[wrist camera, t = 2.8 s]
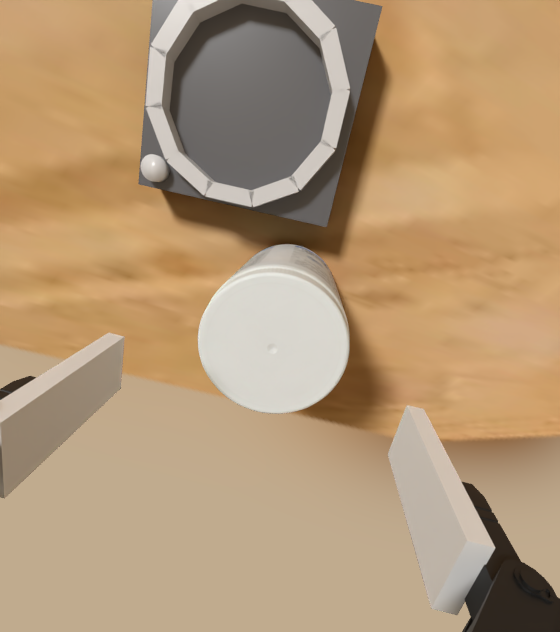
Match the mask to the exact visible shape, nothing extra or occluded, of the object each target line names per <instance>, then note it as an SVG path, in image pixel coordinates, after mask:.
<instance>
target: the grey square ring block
mask: <svg viewBox="0 0 560 632" xmlns="http://www.w3.org/2000/svg"><path fill="white" fill-rule="evenodd" d="M381 10H382V6H378V5H374V4H369V3H364V2H360V1H355V0H153V3H152V16H151V29H150V42H149V55H148V68H147V81H146V94H145V107H144V120H143V133H142V146H141V159H140V172H139V184H140V185H144V186H149V187H153V188H157V189H162V190H166V191H171V192H175V193H179V194H184V195H188V196H192V197H197V198H201V199H205V200H210V201H214V202H219V203H223V204H227V205H232V206H236V207H240V208H245V209H249V210H253V211H258V212H262V213H267V214H271V215H275V216H280V217H284V218H288V219H293V220H297V221H301V222H306V223H310V224H315V225H319V226H323V227H327V224H328V220H329V216H330V212H331V208H332V204H333V200H334V196H335V192H336V188H337V184H338V180H339V176H340V172H341V168H342V164H343V160H344V156H345V152H346V149H347V145H348V141H349V137H350V133H351V129H352V125H353V121H354V117H355V113H356V109H357V105H358V101H359V97H360V93H361V89H362V85H363V81H364V77H365V73H366V69H367V65H368V61H369V57H370V53H371V49H372V45H373V41H374V37H375V33H376V29H377V25H378V21H379V17H380V13H381Z"/></svg>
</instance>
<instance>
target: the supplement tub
mask: <svg viewBox="0 0 560 632" xmlns="http://www.w3.org/2000/svg"><path fill="white" fill-rule="evenodd" d="M349 334H350V333H349V326H348V321H347V317H346V314H345V311H344V308H343V305H342V302H341V299H340V296H339V293H338V290H337V287H336V284H335V281H334V278H333V276H332V273H331V271H330V269H329V268H328V266H327V264H326V263H325V262H324V261H323V259H322V258H320V257H319V256H318V255H317V254H316V253H314V252H313V251H311V250H309V249H307V248H305V247H302V246H298V245H293V244H280V245H275V246H271V247H268V248H266V249H264V250H262V251H260V252H259V253H257V254H256V255H255V256H253V257H252V258H251V259H250V260H249V261H248V262H247V263H246V264H245V265H244V266H242V267H241V268H240V269H239V270H238V271H237V272H236V273H235V274H234V275H233V276H232V277H231V278H229V279H228V280H227V281H226V282H225V283H224V284H223V285H222V286H221V287H220V288H219V290H218V291H217V292H216V293H215V295H214V296H213V297H212V299H211V301H210V302H209V304H208V306H207V308H206V310H205V312H204V314H203V316H202V319H201V322H200V326H199V332H198V349H199V355H200V359H201V362H202V365H203V367H204V369H205V371H206V373H207V375H208V377H209V378H210V380H211V381H212V382H213V384H214V385H215V386H216V387H217V388H218V389H219V391H220V392H222V393H223V394H224V395H225V396H226V397H228V398H229V399H230V400H232V401H234V402H235V403H237V404H239V405H241V406H243V407H245V408H248V409H251V410H254V411H258V412H262V413H270V414H271V413H272V414H283V413H290V412H296V411H299V410H302V409H305V408H307V407H310V406H312V405H314V404H315V403H317V402H319V401H320V400H322V399H323V398H324V397H325V396H327V395H328V394H329V393H330V392H331V391H332V390H333V389H334V387H335V386H336V385H337V383H338V382H339V380H340V379H341V377H342V375H343V373H344V371H345V368H346V365H347V362H348V357H349V343H350V335H349Z"/></svg>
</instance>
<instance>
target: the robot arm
mask: <svg viewBox="0 0 560 632" xmlns="http://www.w3.org/2000/svg"><path fill="white" fill-rule="evenodd" d="M123 351H124V336H120V335H116V334H111V333H107V334H106V335H104V336H103V337H101V338H99V339H98V340H96V341H94V342H93V343H91V344H90V345H88V346H86V347H85V348H83V349H82V350H80V351H78V352H77V353H75V354H74V355H72V356H70V357H69V358H67V359H66V360H64V361H62V362H61V363H59V364H58V365H56V366H55V367H53V368H51V369H50V370H48V371H46V372H45V373H43V374H42V375H40V376H38V377H37V378H36V377H32V376H28V377H25V378H22V379H19V380H16V381H13V382H12V383H10V384H8V385H6V386H5V387H3V388H1V389H0V497H1V498H5V497H6V496H7V495H8V494H9V493H10V492H12V491H13V490H14V489H15V488H16V487H17V486H18V485H19V484H20V483H21V482H22V481H23V480H24V479H25V478H26V477H27V476H28V475H30V474H31V473H32V472H33V471H34V470H35V469H36V468H37V467H38V466H39V465H40V464H41V463H42V462H43V461H44V460H45V459H46V458H47V457H48V456H50V455H51V454H52V453H53V452H54V451H55V450H56V449H57V448H58V447H59V446H60V445H61V444H62V443H63V442H64V441H66V440H67V439H68V438H69V437H70V436H71V435H72V434H73V433H74V432H75V431H76V430H77V429H78V428H79V427H80V426H81V425H82V424H83V423H85V422H86V421H87V420H88V419H89V418H90V417H91V416H92V415H93V414H94V413H95V412H96V411H97V410H98V409H99V408H100V407H101V406H103V404H105V403H106V402H107V401H108V400H109V399H110V398H111V397H112V396H113V395H114V394H115V393H116V392H117V391H118V390H120V389H121V377H122V364H123ZM388 457H389V460H390V464H391V467H392V471H393V474H394V478H395V481H396V485H397V489H398V492H399V496H400V499H401V503H402V506H403V510H404V513H405V517H406V521H407V524H408V528H409V531H410V535H411V538H412V542H413V546H414V549H415V553H416V556H417V560H418V563H419V567H420V570H421V574H422V578H423V581H424V585H425V588H426V592H427V595H428V599H429V602H430V606H431V609H435V610H439V611H443V612H446V613H451V614H455V615H457V614H458V613H459V611H460V609H461V608H462V606H463V604H464V602H466V605H467V607H468V610H469V613H470V615H471V618H470V619H469V621H468V623H467V624H466V626H465V628H464V629H463V631H462V632H560V599H559V598H558V597H557V596H556V594H555V592H554V590H553V588H552V587H551V586H550V584H549V583H548V582H547V581H546V580H545V579H544V577H542V576H541V575H540V574H539V573H538V572H537V571H536V570H534V569H533V568H531V567H529V566H528V565H526V564H525V563H522V562H521V561H520V559H519V557H518V556H517V554H516V552H515V550H514V548H513V547H512V545H511V543H510V541H509V540H508V538H507V536H506V534H505V533H504V531H503V529H502V527H501V526H500V524H498V520H497V519H496V517H495V515H494V513H492V510H491V508H490V506H489V505H488V503H487V501H486V499H485V497H484V496H483V495H482V494H481V493H480V492H479V491H478V490H477V489H476V488H475V487H474V486H473V485H472V484H469V483H465V482H461V480H460V478H459V476H458V474H457V472H456V470H455V469H454V467H453V465H452V463H451V461H450V459H449V457H448V456H447V453H446V451H445V449H444V448H443V445H442V443H441V441H440V440H439V438H438V436H437V434H436V432H435V430H434V428H433V426H432V424H431V422H430V420H429V418H428V416H427V414H426V412H425V411H424V409H421V408H417V407H413V406H409V405H407V406H406V409H405V411H404V414H403V416H402V419H401V422H400V424H399V427H398V429H397V432H396V434H395V437H394V440H393V442H392V445H391V447H390V450H389V453H388Z"/></svg>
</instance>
